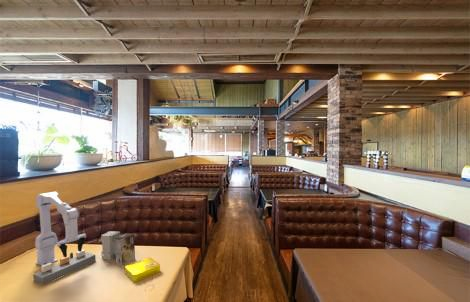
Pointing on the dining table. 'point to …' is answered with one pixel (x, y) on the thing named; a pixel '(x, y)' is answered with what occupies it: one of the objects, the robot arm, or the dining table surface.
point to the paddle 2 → (80, 253)
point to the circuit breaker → (109, 244)
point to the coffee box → (124, 249)
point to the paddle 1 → (46, 267)
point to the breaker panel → (63, 269)
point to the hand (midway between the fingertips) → (72, 253)
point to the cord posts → (70, 257)
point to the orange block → (64, 260)
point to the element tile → (142, 269)
